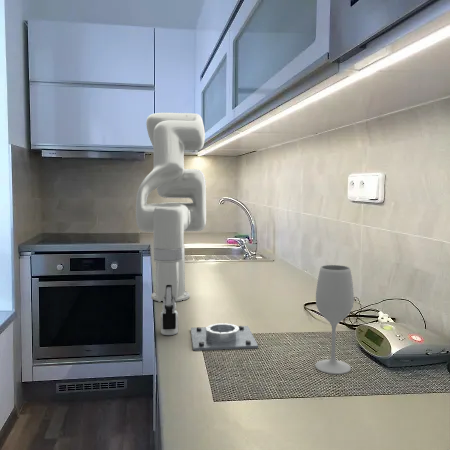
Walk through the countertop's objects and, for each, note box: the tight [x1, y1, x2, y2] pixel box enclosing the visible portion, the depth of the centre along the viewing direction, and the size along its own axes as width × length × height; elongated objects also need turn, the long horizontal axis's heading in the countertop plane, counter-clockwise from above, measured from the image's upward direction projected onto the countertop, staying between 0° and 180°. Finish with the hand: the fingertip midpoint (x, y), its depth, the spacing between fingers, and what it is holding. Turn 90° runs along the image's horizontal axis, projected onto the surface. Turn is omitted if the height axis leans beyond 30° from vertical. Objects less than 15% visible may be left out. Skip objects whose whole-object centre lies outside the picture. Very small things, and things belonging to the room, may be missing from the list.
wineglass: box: [314, 264, 355, 375], centre depth 95 cm, size 8×8×21 cm
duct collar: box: [205, 322, 239, 342], centre depth 114 cm, size 8×8×2 cm
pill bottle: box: [160, 301, 179, 336], centre depth 118 cm, size 4×4×8 cm
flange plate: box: [190, 325, 259, 351], centre depth 114 cm, size 15×15×1 cm
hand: (169, 325), depth 118 cm, fingers closed on pill bottle, 4 cm apart
